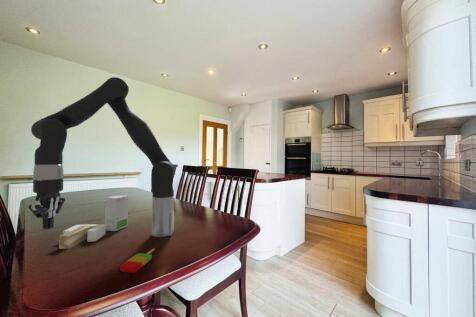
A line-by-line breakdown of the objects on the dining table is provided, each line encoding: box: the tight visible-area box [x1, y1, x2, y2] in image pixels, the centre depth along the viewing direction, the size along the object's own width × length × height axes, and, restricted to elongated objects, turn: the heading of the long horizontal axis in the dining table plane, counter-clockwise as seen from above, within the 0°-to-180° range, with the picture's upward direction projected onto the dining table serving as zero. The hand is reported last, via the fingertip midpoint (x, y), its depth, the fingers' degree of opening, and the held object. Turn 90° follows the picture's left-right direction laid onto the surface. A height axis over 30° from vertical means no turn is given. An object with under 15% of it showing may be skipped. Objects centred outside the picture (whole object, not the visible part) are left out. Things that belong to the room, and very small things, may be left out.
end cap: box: [62, 223, 107, 242], centre depth 86 cm, size 12×8×4 cm, turn 97°
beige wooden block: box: [58, 224, 92, 250], centre depth 82 cm, size 4×12×5 cm, turn 1°
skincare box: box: [104, 195, 129, 232], centre depth 99 cm, size 8×7×16 cm
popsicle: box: [119, 248, 156, 273], centre depth 68 cm, size 6×15×2 cm, turn 171°
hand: (48, 228), depth 69 cm, fingers closed
